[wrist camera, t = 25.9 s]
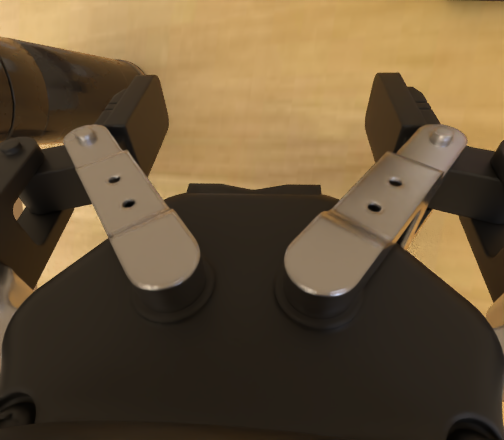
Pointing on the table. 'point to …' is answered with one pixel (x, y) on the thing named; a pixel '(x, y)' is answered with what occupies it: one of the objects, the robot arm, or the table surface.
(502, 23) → the table surface
